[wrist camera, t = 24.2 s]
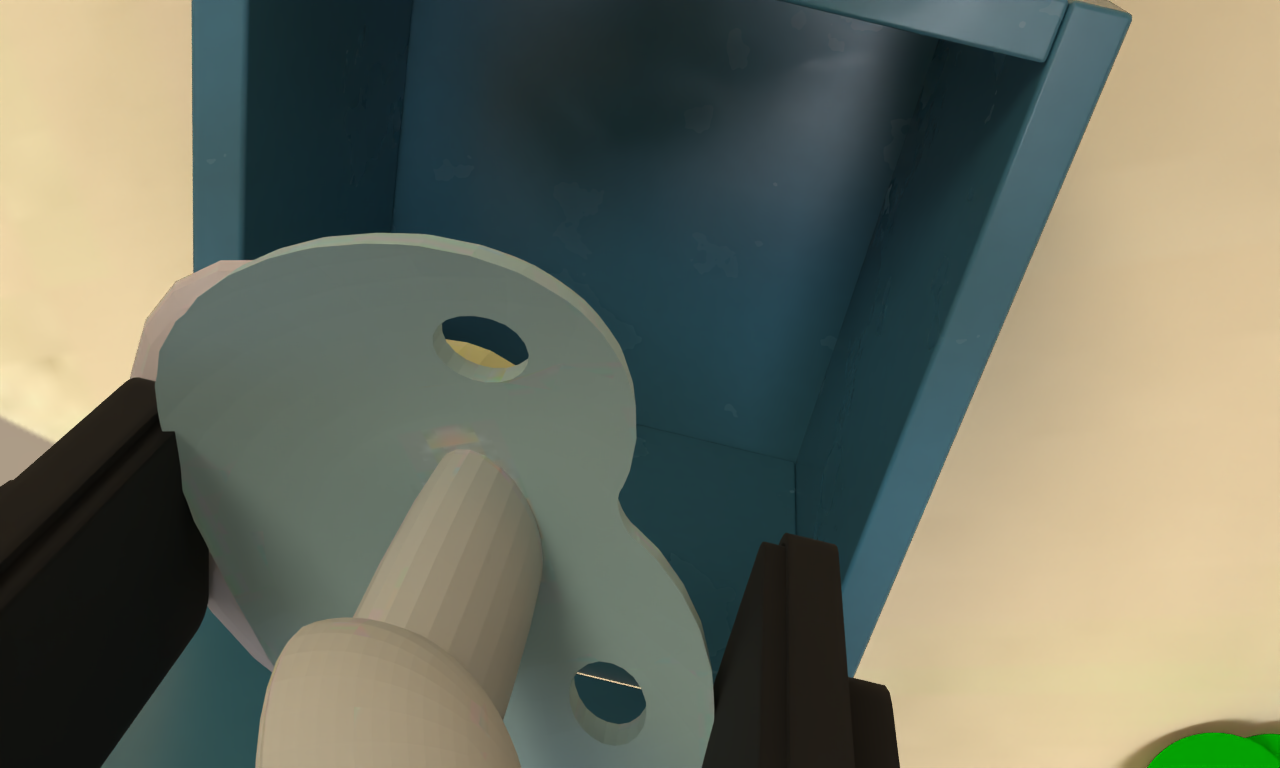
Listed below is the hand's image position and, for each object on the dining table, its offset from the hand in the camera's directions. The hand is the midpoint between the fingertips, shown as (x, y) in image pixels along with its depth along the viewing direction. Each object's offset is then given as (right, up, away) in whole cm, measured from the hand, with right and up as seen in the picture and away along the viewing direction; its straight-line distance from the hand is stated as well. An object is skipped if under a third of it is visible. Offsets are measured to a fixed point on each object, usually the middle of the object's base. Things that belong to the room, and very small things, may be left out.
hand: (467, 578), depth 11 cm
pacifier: (-1, +1, +1) cm, 2 cm away
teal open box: (+2, +7, +15) cm, 17 cm away
